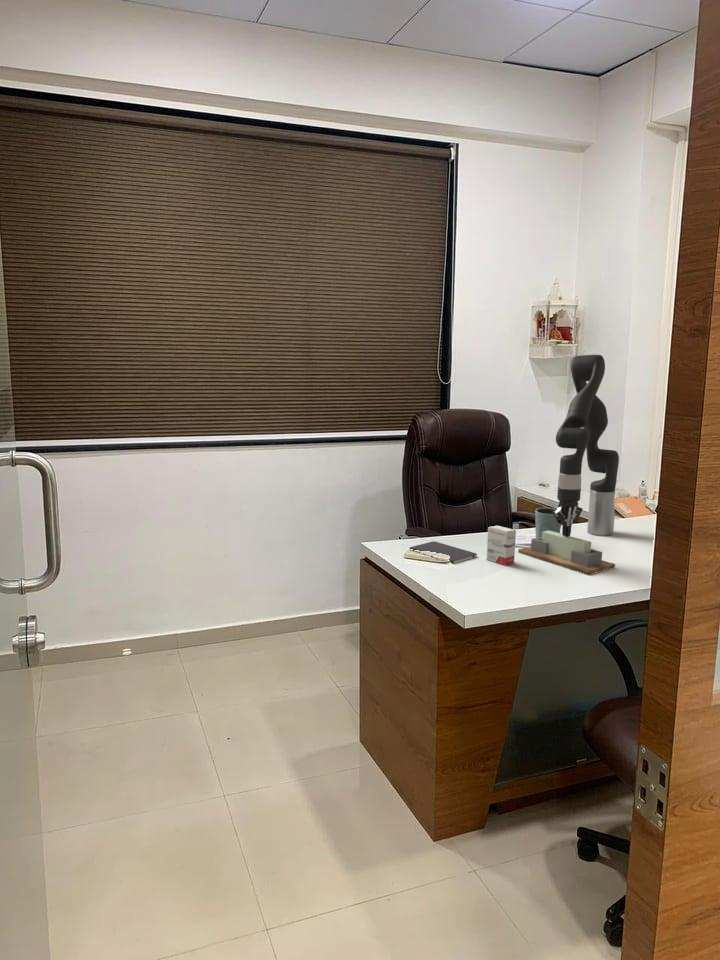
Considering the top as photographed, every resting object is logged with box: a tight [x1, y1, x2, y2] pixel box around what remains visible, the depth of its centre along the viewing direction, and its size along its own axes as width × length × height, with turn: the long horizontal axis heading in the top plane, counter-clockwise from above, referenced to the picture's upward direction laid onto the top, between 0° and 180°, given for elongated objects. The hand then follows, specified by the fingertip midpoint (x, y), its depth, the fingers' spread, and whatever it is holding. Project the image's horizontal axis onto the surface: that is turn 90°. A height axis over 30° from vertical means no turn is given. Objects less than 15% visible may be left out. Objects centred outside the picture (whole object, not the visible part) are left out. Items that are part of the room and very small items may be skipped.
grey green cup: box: [534, 507, 562, 538], centre depth 263 cm, size 10×10×12 cm
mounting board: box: [517, 546, 616, 576], centre depth 242 cm, size 14×30×1 cm, turn 34°
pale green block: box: [542, 530, 592, 560], centre depth 241 cm, size 4×18×7 cm, turn 35°
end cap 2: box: [571, 548, 603, 567], centre depth 234 cm, size 7×7×4 cm
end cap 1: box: [530, 537, 549, 554], centre depth 248 cm, size 7×7×4 cm
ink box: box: [486, 525, 517, 566], centre depth 238 cm, size 8×5×12 cm, turn 39°
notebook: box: [409, 541, 478, 565], centre depth 249 cm, size 13×2×21 cm
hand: (566, 535), depth 240 cm, fingers closed
